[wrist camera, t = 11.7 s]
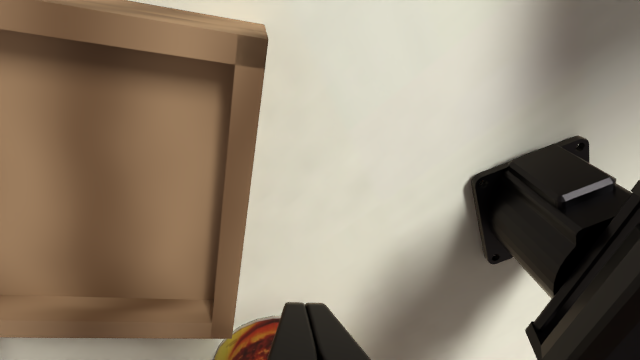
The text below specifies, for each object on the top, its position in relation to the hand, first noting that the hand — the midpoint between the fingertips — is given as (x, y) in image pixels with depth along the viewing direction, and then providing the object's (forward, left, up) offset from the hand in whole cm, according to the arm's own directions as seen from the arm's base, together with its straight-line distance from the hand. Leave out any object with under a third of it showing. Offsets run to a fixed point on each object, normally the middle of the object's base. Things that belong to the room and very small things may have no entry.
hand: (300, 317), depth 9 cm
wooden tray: (+1, +8, -12) cm, 14 cm away
